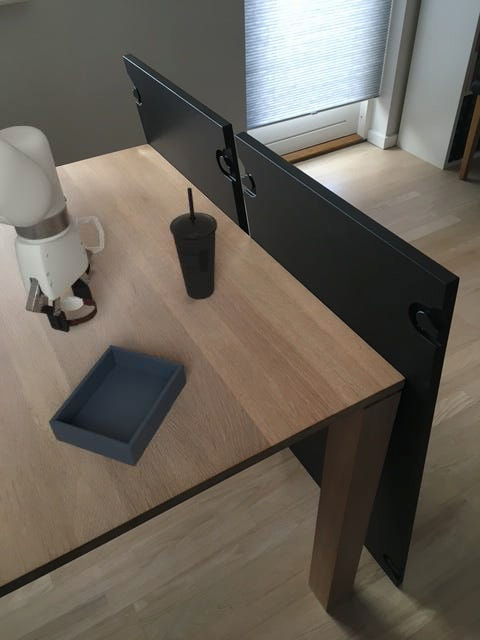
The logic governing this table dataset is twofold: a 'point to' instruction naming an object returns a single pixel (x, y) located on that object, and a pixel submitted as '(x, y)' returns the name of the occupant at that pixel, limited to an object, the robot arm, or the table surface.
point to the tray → (119, 404)
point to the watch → (75, 304)
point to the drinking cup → (196, 250)
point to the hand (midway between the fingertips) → (73, 315)
